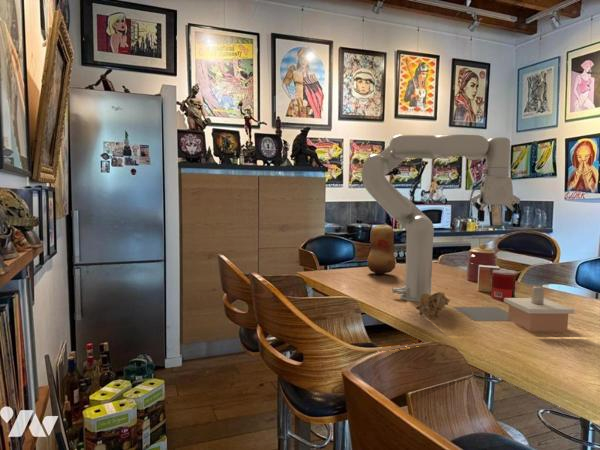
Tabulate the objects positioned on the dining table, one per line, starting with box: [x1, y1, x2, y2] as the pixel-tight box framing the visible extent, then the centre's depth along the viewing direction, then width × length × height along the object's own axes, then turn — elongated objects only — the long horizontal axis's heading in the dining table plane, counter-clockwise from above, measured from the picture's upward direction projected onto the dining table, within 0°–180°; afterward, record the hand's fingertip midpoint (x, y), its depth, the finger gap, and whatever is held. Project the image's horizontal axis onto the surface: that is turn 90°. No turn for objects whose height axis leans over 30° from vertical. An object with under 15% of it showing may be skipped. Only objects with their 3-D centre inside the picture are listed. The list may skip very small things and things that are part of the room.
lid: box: [503, 285, 575, 315], centre depth 119 cm, size 13×13×6 cm
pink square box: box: [508, 304, 569, 333], centre depth 120 cm, size 11×11×6 cm
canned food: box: [490, 269, 517, 302], centre depth 153 cm, size 8×8×11 cm
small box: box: [477, 265, 501, 293], centre depth 168 cm, size 8×6×10 cm
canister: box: [466, 243, 498, 283], centre depth 190 cm, size 13×13×18 cm
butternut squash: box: [366, 224, 396, 276], centre depth 201 cm, size 14×13×25 cm
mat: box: [452, 306, 511, 322], centre depth 131 cm, size 16×16×1 cm
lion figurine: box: [415, 291, 451, 320], centre depth 129 cm, size 15×5×9 cm, turn 18°
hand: (494, 221), depth 143 cm, fingers open, 9 cm apart
